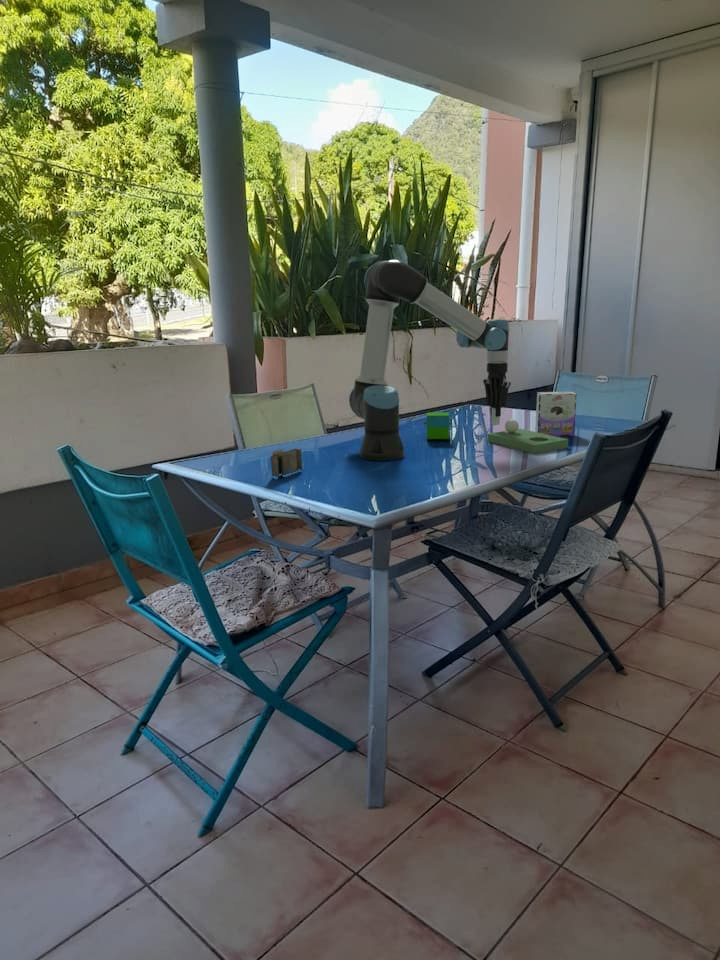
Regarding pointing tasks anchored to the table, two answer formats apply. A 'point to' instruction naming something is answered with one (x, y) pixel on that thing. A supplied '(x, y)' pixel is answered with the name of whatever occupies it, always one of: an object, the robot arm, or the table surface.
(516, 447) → the putting mat
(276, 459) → the ruin model on sheet
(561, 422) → the candy box
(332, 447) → the table surface
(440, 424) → the green toy van
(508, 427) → the ball
